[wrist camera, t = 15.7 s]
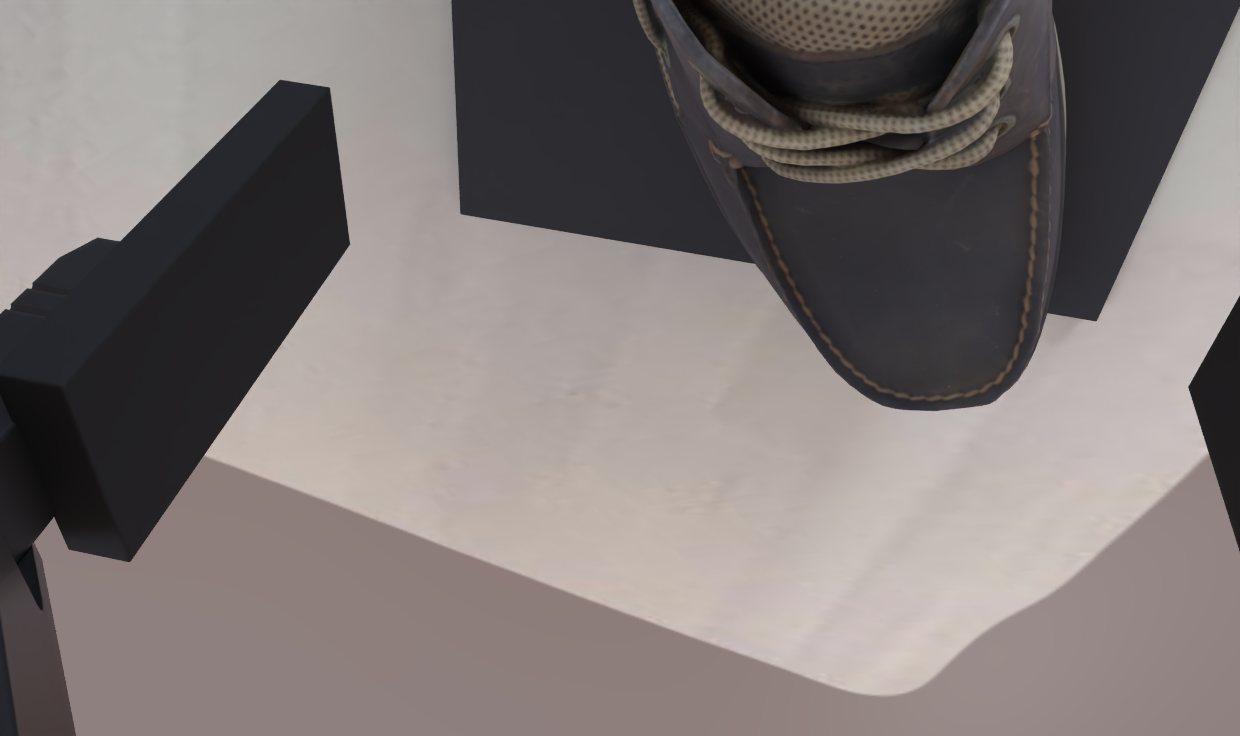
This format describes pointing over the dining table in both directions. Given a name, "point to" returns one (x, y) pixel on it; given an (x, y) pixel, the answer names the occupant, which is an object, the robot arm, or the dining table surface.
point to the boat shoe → (884, 174)
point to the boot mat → (674, 185)
